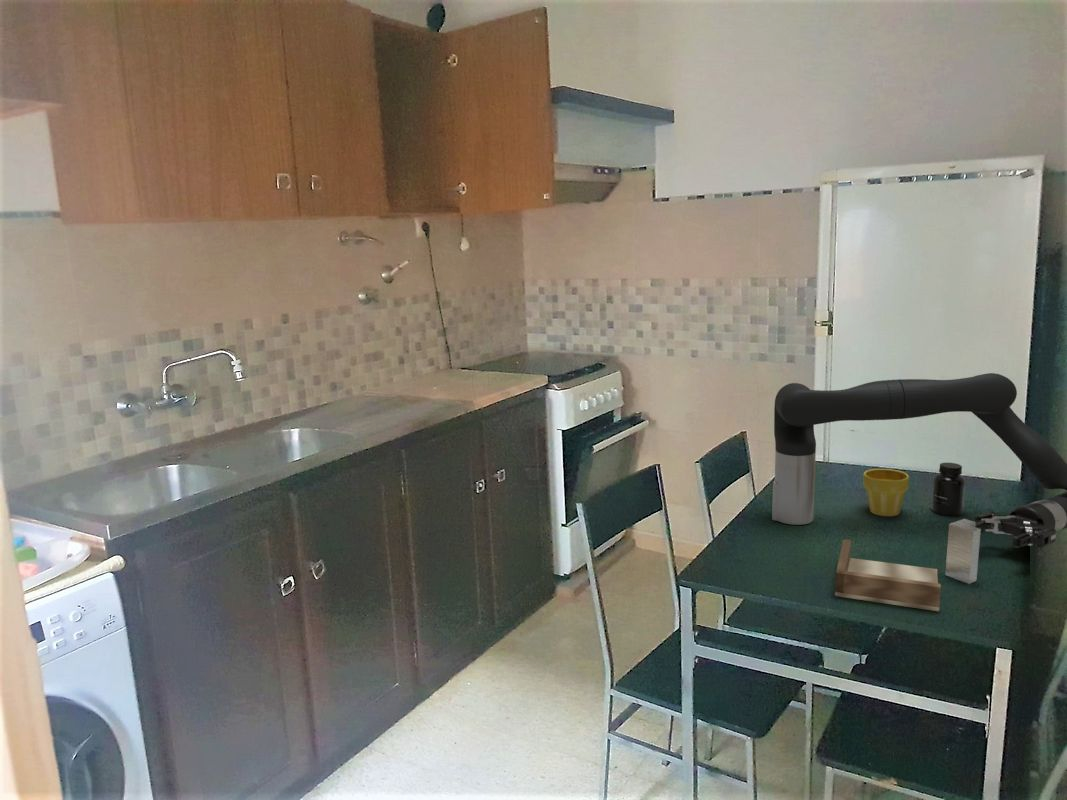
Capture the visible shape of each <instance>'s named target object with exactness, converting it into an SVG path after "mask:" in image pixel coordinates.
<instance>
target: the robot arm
mask: <svg viewBox="0 0 1067 800" xmlns="http://www.w3.org/2000/svg"><path fill="white" fill-rule="evenodd" d="M1017 395H1018V391H1017V387H1016V385H1015V384H1014V382H1013V381H1012V380H1011V379H1010V378H1008V377H1007V376H1004V375H1002V374H999V373H995V372H991V373H990V372H989V373H984V374H978V375H974V376H969V377H962V378H953V379H926V378H925V379H924V378H917V379H916V378H915V379H914V378H913V379H912V378H911V379H910V378H908V379H905V378H903V379H901V378H900V379H886V380H875V381H869V382H866V383H863V384H859V385H856V386H852V387H849V388H844V389H838V390H836V389H835V390H834V389H833V390H819V389H810V388H809V387H808V386H807V385H805V384H802V383H798V382H791V383H787V384H784V386H782V387H781V388H780V389H779V390H778V391H777V394H776V396H775V399H774V408H773V409H774V410H773V412H774V415H773V418H774V419H773V422H774V423H773V424H774V425H773V426H774V427H773V431H774V432H773V433H774V435H773V436H774V441H775V451H774V456H775V457H774V481H773V482H772V504H771V505H772V506H771V509H772V510H771V511H772V512H771V520H772V521H777V522H780V523H782V524H787V525H792V526H793V525H794V526H795V525H796V526H799V525H800V526H801V525H807V524H811V523H812V522H813V521H814V515H815V514H814V513H815V510H814V509H815V484H816V483H815V480H816V458H817V457H816V456H817V455H816V452H817V441H816V437H815V429H814V428H815V427H814V425H821V424H828V423H834V422H842V421H844V422H845V421H846V422H847V421H851V422H852V421H853V422H854V421H856V422H857V421H858V422H859V421H860V422H861V421H863V422H864V421H887V420H888V421H889V420H891V421H892V420H904V419H914V418H922V417H927V416H928V417H929V416H932V415H938V414H943V413H953V412H954V413H955V412H960V413H961V412H968V413H972V414H973V415H974V416H975V417H977V418H978V419H979V420H980V421H982V423H984V424H985V425H986V426H987V427H988V428H989V429H990V430H991V431H992V432H993V433H994V434H995V435H997V437H998V438H999V439H1001V441H1002V442H1003V443H1004V444H1005V445H1006V446H1007V447H1008V448H1009V449H1010V450H1011V451H1012V453H1013V454H1014V455H1015V456H1016V457H1017V458H1018V459H1019V461H1020V462H1021V463H1022V464H1023V466H1025V468H1026V469H1027V470H1028V472H1029V473H1030V474H1031V475H1032V476H1033V478H1034V479H1035V480H1036V481H1037V482H1038V483H1039V485H1040V486H1041V487H1042V488H1043V489H1045V490H1065V492H1063V493H1060V494H1057V495H1055V496H1052V497H1048V498H1045V499H1042V500H1037V501H1033V502H1030V503H1027V504H1025V505H1021V506H1019V507H1017V508H1014V509H1013V510H1012V511H1011V512H1010V514H1009V515H1005V516H1004V515H1003V516H997V514H996V512H995V511H992V510H991V511H987V512H985V513H981V514H976V515H974V522H976V526H975V527H976V528H980V529H981V532H980V534H982V533H985V532H992V533H993V534H995V535H996V534H997V535H1000V534H1001V535H1002V534H1003V535H1008V536H1014V537H1013V539H1012V548H1015V549H1018V548H1021V547H1022V548H1023V547H1025V546H1029V547H1030V546H1033V545H1036V547H1038V548H1041V549H1042V548H1045V547H1047V546H1049V545H1051V544H1053V543H1055V542H1056V537H1057V533H1058V532H1060V531H1061V530H1063V529H1067V462H1066V460H1064V458H1063V457H1062V455H1060V454H1059V453H1058V451H1057V450H1056V449H1055V448H1054V447H1053V446H1052V445H1051V444H1050V443H1049V442H1048V441H1047V440H1046V439H1044V438H1043V437H1042V436H1041V435H1040V434H1038V432H1036V431H1035V430H1033V429H1032V428H1031V427H1030V426H1028V425H1027V424H1026V423H1025V422H1024V421H1023V420H1022V419H1020V417H1019V416H1018V415H1017V414H1016V413H1015V412H1014V411H1013V409H1012V408H1011V406H1012V405H1013V404H1014V403H1015V401H1016V398H1017ZM998 527H1000V528H998Z"/></svg>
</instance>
